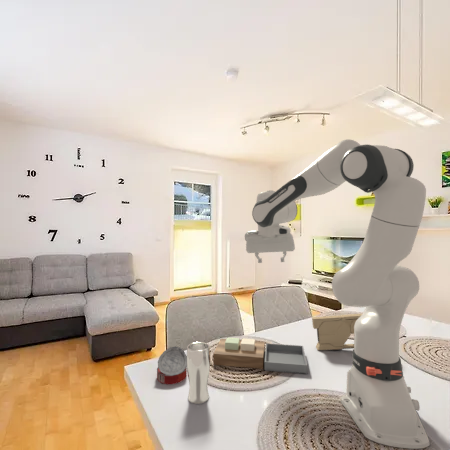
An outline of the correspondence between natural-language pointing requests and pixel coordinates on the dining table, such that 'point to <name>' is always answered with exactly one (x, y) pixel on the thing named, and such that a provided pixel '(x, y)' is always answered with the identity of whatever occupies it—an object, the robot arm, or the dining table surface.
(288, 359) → the tray
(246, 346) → the tile
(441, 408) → the dining table surface
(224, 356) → the wooden block
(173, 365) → the canned food
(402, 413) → the robot arm
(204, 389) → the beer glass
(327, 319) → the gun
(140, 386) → the dining table surface
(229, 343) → the tile
